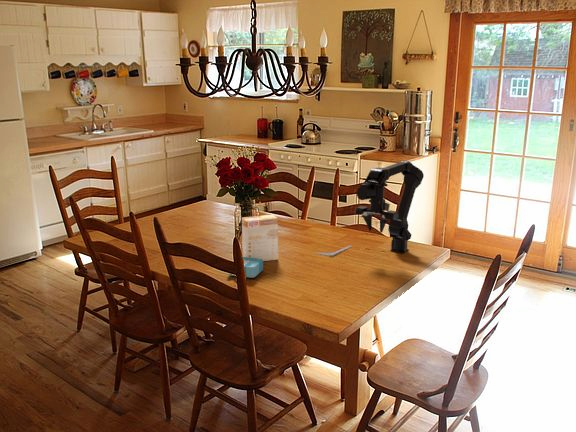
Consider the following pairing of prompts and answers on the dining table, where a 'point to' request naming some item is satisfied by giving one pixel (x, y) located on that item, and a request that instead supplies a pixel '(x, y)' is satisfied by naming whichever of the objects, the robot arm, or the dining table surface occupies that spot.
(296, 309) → the dining table surface
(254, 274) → the data package
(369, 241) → the dining table surface
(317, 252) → the grey boomerang
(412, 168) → the robot arm
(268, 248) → the coffeecake box
